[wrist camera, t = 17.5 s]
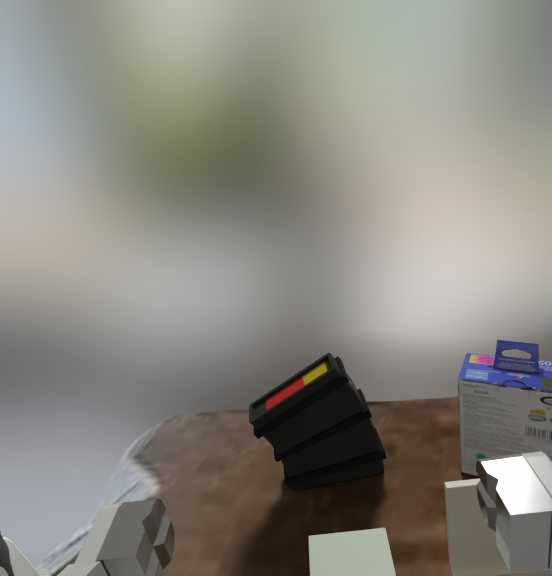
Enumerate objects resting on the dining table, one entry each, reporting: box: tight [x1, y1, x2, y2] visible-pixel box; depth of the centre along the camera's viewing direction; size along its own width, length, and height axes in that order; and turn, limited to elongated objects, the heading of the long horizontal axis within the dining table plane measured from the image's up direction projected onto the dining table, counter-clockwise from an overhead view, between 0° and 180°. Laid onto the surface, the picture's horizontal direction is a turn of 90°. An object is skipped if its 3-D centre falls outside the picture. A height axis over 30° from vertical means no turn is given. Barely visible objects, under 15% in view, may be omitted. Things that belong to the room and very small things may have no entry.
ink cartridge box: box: [458, 340, 552, 476], centre depth 43 cm, size 10×6×14 cm, turn 60°
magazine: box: [249, 353, 386, 490], centre depth 47 cm, size 4×13×15 cm, turn 93°
